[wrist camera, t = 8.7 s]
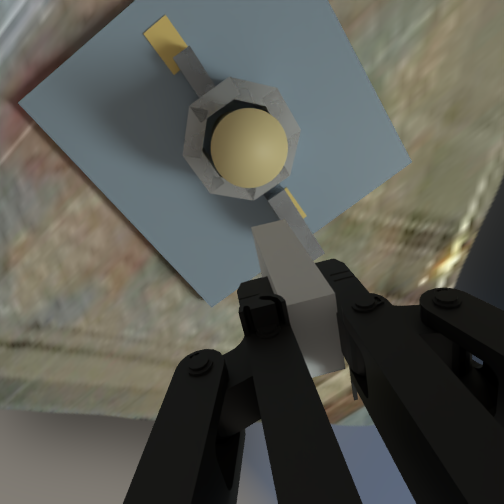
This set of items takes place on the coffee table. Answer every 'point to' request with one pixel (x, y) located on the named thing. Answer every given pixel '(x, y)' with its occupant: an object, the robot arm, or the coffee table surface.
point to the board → (154, 118)
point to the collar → (203, 163)
